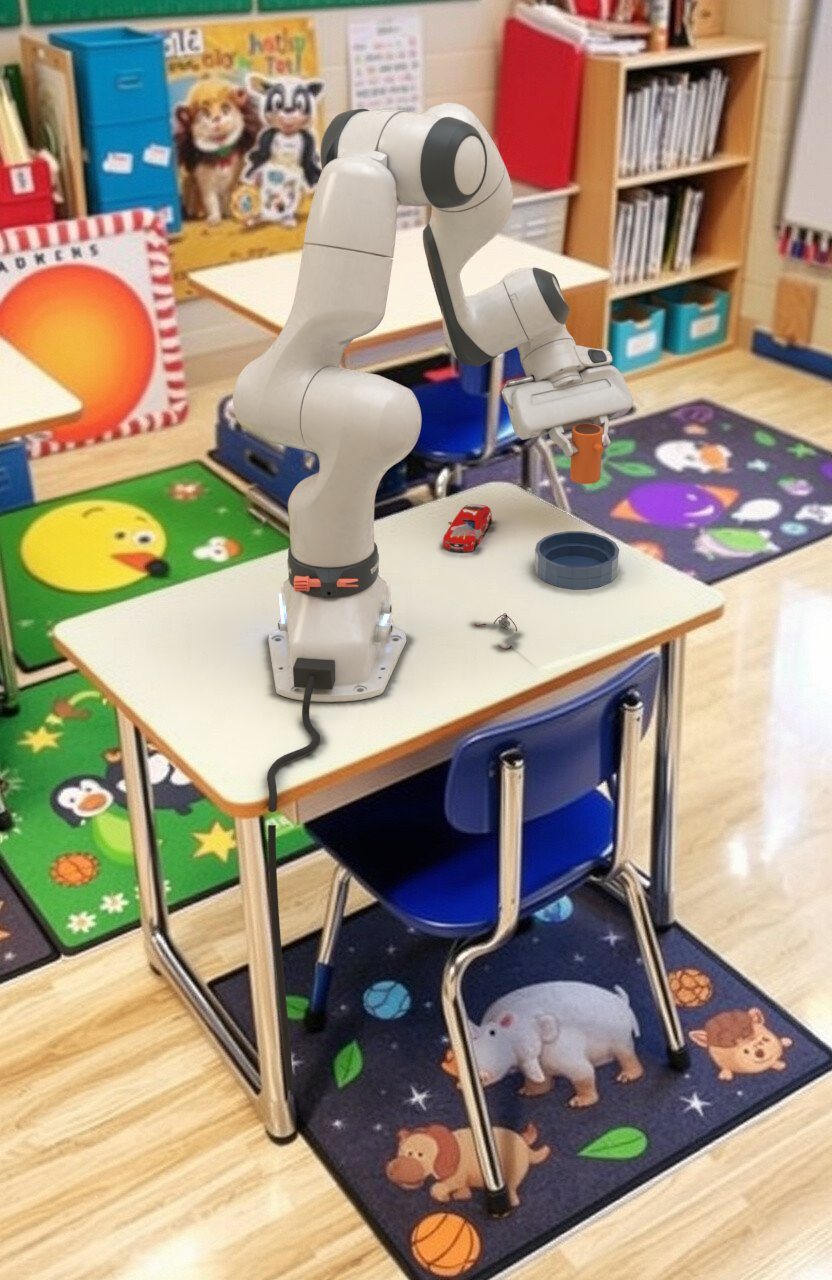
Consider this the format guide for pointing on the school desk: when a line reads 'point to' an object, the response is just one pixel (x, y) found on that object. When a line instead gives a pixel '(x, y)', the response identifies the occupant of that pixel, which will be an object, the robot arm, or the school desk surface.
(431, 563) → the school desk surface
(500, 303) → the robot arm
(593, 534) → the bowl
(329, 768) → the school desk surface
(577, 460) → the orange cylinder with nub
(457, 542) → the race car
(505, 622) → the pendant
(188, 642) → the school desk surface
